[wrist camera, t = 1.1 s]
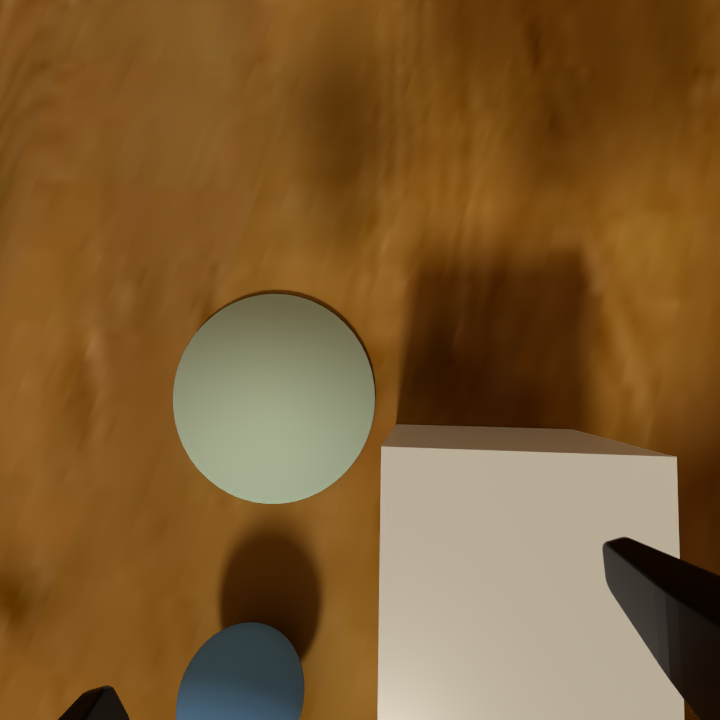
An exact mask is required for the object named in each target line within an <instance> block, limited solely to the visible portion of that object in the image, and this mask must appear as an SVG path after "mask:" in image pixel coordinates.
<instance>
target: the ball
mask: <svg viewBox="0 0 720 720" xmlns="http://www.w3.org/2000/svg"><path fill="white" fill-rule="evenodd" d="M303 700H304V676H303V669H302V666H301V662H300V659H299V657H298V655H297V652H296V650H295V649H294V647H293V645H292V644H291V643H290V641H289V640H288V639H287V638H286V637H285V636H284V635H283V634H282V633H281V632H279V631H278V630H276V629H275V628H273V627H271V626H269V625H266V624H262V623H257V622H245V623H239V624H235V625H232V626H229V627H227V628H225V629H223V630H221V631H220V632H218V633H216V634H215V635H213V636H212V637H211V638H210V639H209V640H207V641H206V642H205V643H204V644H203V646H202V647H201V648H200V649H199V650H198V651H197V653H196V654H195V656H194V657H193V658H192V660H191V661H190V663H189V665H188V667H187V669H186V671H185V673H184V676H183V678H182V681H181V684H180V688H179V692H178V697H177V706H176V720H299V718H300V715H301V711H302V706H303Z"/></svg>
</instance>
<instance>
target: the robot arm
mask: <svg viewBox="0 0 720 720" xmlns="http://www.w3.org/2000/svg"><path fill="white" fill-rule="evenodd" d="M602 551H603V561H604V570H605V578H606V582H607V585H608V587H609V589H610V591H611V593H612V594H613V596H614V597H615V599H616V601H617V602H618V604H619V605H620V607H621V608H622V610H623V611H624V613H625V614H626V616H627V617H628V619H629V620H630V622H631V623H632V625H633V626H634V628H635V629H636V631H637V632H638V634H639V635H640V637H641V638H642V640H643V641H644V643H645V644H646V646H647V647H648V649H649V650H650V652H651V654H652V655H653V657H654V658H655V660H656V661H657V663H658V664H659V666H660V667H661V669H662V670H663V671H664V673H665V674H666V676H667V677H668V679H669V680H670V682H671V683H672V684H673V685H674V687H675V688H676V689H677V691H678V692H679V693H680V695H681V696H682V697H683V699H684V700H685V701H686V702H687V704H688V705H689V706H690V707H691V709H692V710H693V711H694V713H695V714H696V715H697V716H698V718H699V719H700V720H720V576H719V575H716V574H714V573H712V572H709V571H707V570H705V569H702V568H700V567H697V566H695V565H693V564H690V563H688V562H686V561H683V560H681V559H678V558H676V557H674V556H671V555H669V554H667V553H664V552H662V551H659V550H657V549H655V548H652V547H650V546H648V545H645V544H643V543H640V542H638V541H636V540H633V539H631V538H628V537H620V538H616V539H613V540H609V541H606V542H605V543H604V544H603V546H602ZM58 720H129V717H128V714H127V712H126V711H125V709H124V707H123V705H122V703H121V701H120V699H119V697H118V695H117V693H116V692H115V690H114V688H113V687H111V686H102V687H99V688H96V689H92V690H89V691H87V692H85V693H83V694H82V695H81V696H80V697H79V698H78V699H77V700H76V701H75V702H74V703H73V704H72V705H71V706H70V707H69V709H68V710H67V711H66V712H65V713H64V714H63V715H62V716H61V717H60V718H59V719H58Z"/></svg>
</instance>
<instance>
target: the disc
mask: <svg viewBox="0 0 720 720" xmlns="http://www.w3.org/2000/svg"><path fill="white" fill-rule="evenodd" d="M374 408H375V385H374V380H373V374H372V370H371V367H370V364H369V361H368V358H367V356H366V353H365V351H364V349H363V347H362V345H361V344H360V342H359V341H358V339H357V338H356V336H355V334H354V333H353V332H352V331H351V330H350V329H349V327H348V326H347V325H346V324H345V323H344V322H343V321H342V320H341V319H339V318H338V317H337V316H336V315H335V314H333V313H332V312H331V311H329V310H328V309H326V308H325V307H323V306H321V305H319V304H317V303H315V302H313V301H310V300H307V299H304V298H301V297H297V296H292V295H287V294H265V295H258V296H253V297H248V298H245V299H243V300H240V301H237V302H235V303H233V304H231V305H229V306H227V307H225V308H223V309H222V310H221V311H219V312H218V313H216V314H215V315H213V316H212V317H211V318H210V319H209V320H208V321H207V322H206V323H204V324H203V326H202V327H201V328H200V329H199V330H198V331H197V332H196V334H195V335H194V336H193V338H192V339H191V341H190V342H189V344H188V346H187V348H186V350H185V352H184V353H183V355H182V358H181V361H180V363H179V366H178V369H177V373H176V377H175V382H174V391H173V410H174V417H175V423H176V427H177V431H178V434H179V437H180V439H181V442H182V444H183V447H184V448H185V450H186V452H187V454H188V456H189V457H190V459H191V460H192V462H193V463H194V464H195V466H196V467H197V468H198V470H199V471H200V472H201V473H202V474H203V475H204V476H205V477H206V478H207V479H208V480H210V481H211V482H212V483H213V484H215V485H216V486H217V487H219V488H221V489H222V490H224V491H226V492H227V493H229V494H231V495H234V496H236V497H238V498H241V499H244V500H248V501H252V502H257V503H265V504H282V503H288V502H294V501H298V500H301V499H305V498H308V497H310V496H312V495H314V494H316V493H319V492H320V491H322V490H324V489H325V488H327V487H328V486H330V485H331V484H333V483H334V482H335V481H336V480H337V479H339V478H340V477H341V476H342V475H343V474H344V473H345V472H346V471H347V470H348V468H349V467H350V466H351V465H352V464H353V462H354V461H355V460H356V458H357V457H358V455H359V454H360V452H361V450H362V448H363V446H364V444H365V442H366V440H367V437H368V435H369V432H370V429H371V425H372V421H373V416H374Z"/></svg>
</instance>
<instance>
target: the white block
mask: <svg viewBox="0 0 720 720" xmlns="http://www.w3.org/2000/svg"><path fill="white" fill-rule="evenodd" d="M620 537H628V538H631V539H633V540H636V541H638V542H640V543H643V544H645V545H648V546H650V547H652V548H655V549H657V550H659V551H662V552H664V553H667V554H669V555H671V556H674V557H676V558H678V559H680V550H679V516H678V482H677V457H675V456H672V455H668V454H664V453H660V452H656V451H653V450H649V449H645V448H641V447H638V446H634V445H630V444H626V443H622V442H619V441H615V440H611V439H607V438H604V437H600V436H596V435H592V434H589V433H585V432H581V431H577V430H573V429H549V428H513V427H478V426H442V425H407V424H396V425H395V426H394V428H393V429H392V431H391V432H390V434H389V435H388V437H387V438H386V440H385V442H384V443H383V445H382V446H381V501H380V575H379V649H378V720H684V699H683V697H682V696H681V695H680V693H679V692H678V691H677V689H676V688H675V687H674V685H673V684H672V683H671V682H670V680H669V679H668V677H667V676H666V674H665V673H664V671H663V670H662V669H661V667H660V666H659V664H658V663H657V661H656V660H655V658H654V657H653V655H652V654H651V652H650V650H649V649H648V647H647V646H646V644H645V643H644V641H643V640H642V638H641V637H640V635H639V634H638V632H637V631H636V629H635V628H634V626H633V625H632V623H631V622H630V620H629V619H628V617H627V616H626V614H625V613H624V611H623V610H622V608H621V607H620V605H619V604H618V602H617V601H616V599H615V597H614V596H613V594H612V593H611V591H610V589H609V587H608V585H607V582H606V578H605V570H604V561H603V551H602V546H603V544H604V543H605V542H606V541H609V540H613V539H616V538H620Z"/></svg>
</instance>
